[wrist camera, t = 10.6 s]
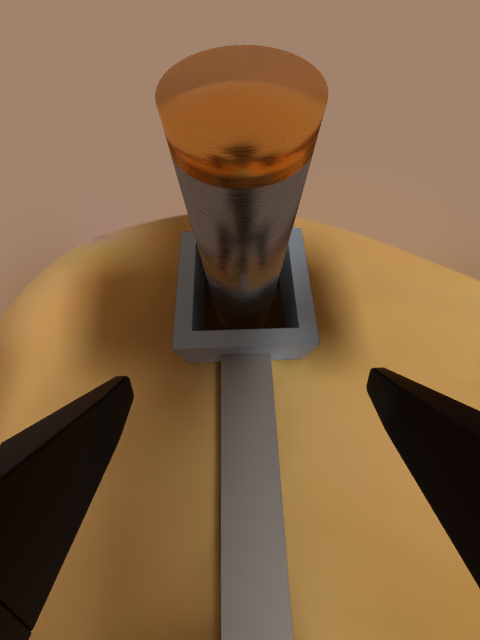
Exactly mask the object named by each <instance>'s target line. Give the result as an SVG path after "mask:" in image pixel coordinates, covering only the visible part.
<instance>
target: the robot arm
mask: <svg viewBox="0 0 480 640" xmlns="http://www.w3.org/2000/svg"><path fill="white" fill-rule="evenodd" d="M367 392H368V394H369V396H370V399H371V401H372V403H373V405H374V407H375V409H376V411H377V413H378V416H379V418H380V420H381V422H382V424H383V426H384V428H385V430H386V432H387V434H388V435H389V437H390V439H391V441H392V442H393V444H394V446H395V447H396V449H397V451H398V452H399V454H400V456H401V457H402V459H403V461H404V462H405V464H406V466H407V467H408V469H409V471H410V472H411V474H412V476H413V477H414V479H415V481H416V482H417V484H418V486H419V487H420V489H421V491H422V492H423V494H424V496H425V498H426V499H427V501H428V503H429V504H430V506H431V508H432V509H433V511H434V513H435V514H436V516H437V518H438V519H439V521H440V523H441V524H442V526H443V528H444V529H445V531H446V533H447V534H448V536H449V538H450V539H451V541H452V543H453V544H454V546H455V548H456V549H457V551H458V553H459V555H460V556H461V558H462V560H463V561H464V563H465V565H466V566H467V568H468V570H469V571H470V573H471V575H472V576H473V578H474V580H475V581H476V583H477V585H478V586H479V588H480V411H478V410H476V409H474V408H472V407H470V406H467V405H465V404H463V403H461V402H459V401H456V400H454V399H452V398H450V397H448V396H445V395H443V394H441V393H439V392H437V391H434V390H432V389H430V388H428V387H426V386H423V385H421V384H419V383H417V382H415V381H412V380H410V379H408V378H406V377H404V376H401V375H399V374H397V373H395V372H393V371H390V370H388V369H386V368H372V369H371V370H370V373H369V378H368V382H367ZM133 398H134V394H133V390H132V386H131V382H130V379H129V377H127V376H116V377H114V378H112V379H111V380H109V381H107V382H105V383H104V384H102V385H100V386H99V387H97V388H95V389H93V390H92V391H90V392H88V393H87V394H85V395H83V396H81V397H80V398H78V399H76V400H75V401H73V402H71V403H69V404H68V405H66V406H64V407H62V408H61V409H59V410H57V411H56V412H54V413H52V414H50V415H49V416H47V417H45V418H44V419H42V420H40V421H38V422H37V423H35V424H33V425H32V426H30V427H28V428H26V429H25V430H23V431H21V432H19V433H18V434H16V435H14V436H13V437H11V438H9V439H7V440H6V441H4V442H2V443H1V445H0V640H29V637H30V635H31V631H32V630H33V628H34V626H35V624H36V622H37V619H38V617H39V615H40V613H41V611H42V608H43V606H44V604H45V602H46V600H47V597H48V595H49V593H50V591H51V589H52V587H53V584H54V582H55V580H56V578H57V576H58V573H59V571H60V569H61V567H62V565H63V562H64V560H65V558H66V556H67V554H68V552H69V549H70V547H71V545H72V543H73V541H74V538H75V536H76V534H77V532H78V530H79V527H80V525H81V523H82V521H83V519H84V517H85V514H86V512H87V510H88V508H89V506H90V503H91V501H92V499H93V497H94V495H95V492H96V490H97V488H98V486H99V484H100V482H101V479H102V477H103V475H104V473H105V471H106V468H107V466H108V464H109V462H110V460H111V457H112V455H113V453H114V451H115V449H116V446H117V444H118V442H119V440H120V437H121V434H122V431H123V428H124V425H125V422H126V420H127V417H128V414H129V411H130V408H131V405H132V402H133Z"/></svg>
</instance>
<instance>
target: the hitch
mask: <svg viewBox="0 0 480 640" xmlns="http://www.w3.org/2000/svg"><path fill="white" fill-rule="evenodd" d="M205 276H206V274H205V271H204V267H203V264H202V260H201V257H200V254H199V250H198V247H197V243H196V240H195V236H194V233H193V231H187V232H181V242H180V255H179V268H178V281H177V293H176V306H175V319H174V332H173V345H172V350H174V351H175V352H176V353H177V354H178V355H180V356H181V357H182V358H183V359H185V360H186V361H187V362H188V363H196V362H221V640H293V631H292V618H291V606H290V593H289V581H288V568H287V555H286V543H285V530H284V518H283V505H282V492H281V480H280V467H279V455H278V442H277V429H276V417H275V404H274V392H273V379H272V366H271V360H289V359H303V358H304V357H305V356H306V355H308V354H309V353H310V352H311V351H313V350H314V349H315V348H316V347H318V346H319V345H320V342H319V336H318V329H317V323H316V317H315V311H314V304H313V298H312V292H311V286H310V279H309V273H308V267H307V261H306V254H305V248H304V242H303V236H302V230H301V228H292V232H291V235H290V239H289V243H288V246H287V250H286V254H285V257H284V261H283V265H282V268H281V272H280V276H279V282H280V291H281V301H282V310H283V320H284V328H274V329H242V330H211V331H204V298H205Z"/></svg>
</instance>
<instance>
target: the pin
mask: <svg viewBox="0 0 480 640" xmlns="http://www.w3.org/2000/svg"><path fill="white" fill-rule="evenodd" d="M155 95H156V104H157V108H158V112H159V115H160V119H161V122H162V125H163V129H164V132H165V136H166V139H167V142H168V146H169V150H170V153H171V157H172V160H173V163H174V167H175V170H176V174H177V177H178V181H179V184H180V188H181V191H182V195H183V198H184V202H185V205H186V208H187V212H188V215H189V219H190V222H191V226H192V229H193V233H194V236H195V240H196V243H197V247H198V250H199V254H200V257H201V260H202V264H203V267H204V271H205V274H206V278H207V281H208V285H209V288H210V292H211V295H212V299H213V302H214V305H215V309H216V312H217V316H218V319H219V321H220V323H221V324H222V326H223V327H224V328H225V329H227V330H242V329H260V328H262V327H263V325H264V324H265V323H266V321H267V319H268V316H269V312H270V308H271V305H272V301H273V297H274V294H275V290H276V287H277V283H278V279H279V276H280V272H281V268H282V265H283V261H284V257H285V254H286V250H287V246H288V243H289V239H290V235H291V232H292V228H293V225H294V221H295V217H296V214H297V210H298V206H299V203H300V199H301V195H302V192H303V187H304V184H305V181H306V177H307V173H308V170H309V166H310V163H311V159H312V155H313V151H314V148H315V144H316V140H317V137H318V133H319V129H320V126H321V122H322V119H323V115H324V111H325V108H326V104H327V99H328V87H327V84H326V81H325V80H324V78H323V76H322V75H321V73H320V72H319V71H318V70H317V69H316V68H315V67H314V66H313V65H312V64H310V63H309V62H308V61H306V60H304V59H303V58H301V57H299V56H296V55H294V54H292V53H289V52H286V51H283V50H280V49H275V48H271V47H264V46H256V45H234V46H224V47H218V48H213V49H209V50H205V51H202V52H199V53H196V54H194V55H191V56H189V57H187V58H185V59H183V60H181V61H180V62H178V63H177V64H175V65H174V66H173V67H171V68H170V69H169V70H168V71H167V72H166V73H165V74H164V75H163V77H162V78H161V80H160V81H159V84H158V86H157V89H156V94H155Z"/></svg>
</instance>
